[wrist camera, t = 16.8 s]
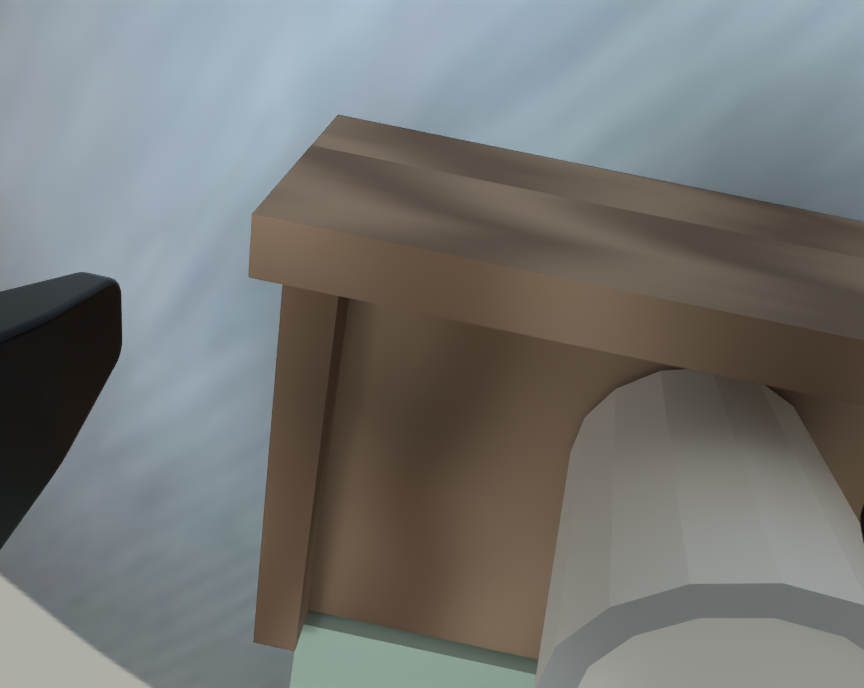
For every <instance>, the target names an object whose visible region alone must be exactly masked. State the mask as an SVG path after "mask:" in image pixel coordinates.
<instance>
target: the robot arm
mask: <svg viewBox="0 0 864 688" xmlns="http://www.w3.org/2000/svg"><path fill="white" fill-rule="evenodd" d="M121 347H122V310H121V290H120V286H119V284H118V283H117V281H116V280H115V279H112V278H109V277H105V276H100V275H95V274H91V273H86V272H79V273H74V274H70V275H66V276H62V277H58V278H54V279H50V280H46V281H42V282H38V283H34V284H30V285H26V286H22V287H18V288H14V289H9V290H5V291H1V292H0V550H1V548H2V547H3V545H4V544H5V543H6V541H7V540H8V538H9V537H10V536H11V534H12V533H13V531H14V530H15V529H16V527H17V526H18V524H19V523H20V522H21V520H22V519H23V517H24V516H25V515H26V513H27V512H28V510H29V509H30V508H31V506H32V505H33V503H34V502H35V501H36V499H37V498H38V496H39V495H40V493H41V492H42V491H43V489H44V488H45V486H46V485H47V484H48V482H49V481H50V479H51V478H52V476H53V475H54V474H55V472H56V471H57V469H58V468H59V466H60V465H61V463H62V462H63V460H64V458H65V456H66V455H67V453H68V451H69V450H70V448H71V446H72V444H73V442H74V441H75V439H76V437H77V435H78V433H79V431H80V430H81V428H82V426H83V424H84V422H85V420H86V418H87V417H88V415H89V413H90V411H91V409H92V407H93V406H94V404H95V402H96V400H97V398H98V396H99V394H100V393H101V391H102V389H103V387H104V385H105V383H106V382H107V380H108V378H109V376H110V374H111V372H112V370H113V369H114V367H115V365H116V363H117V361H118V358H119V356H120V352H121ZM860 527H861V533H862V538H863V544H864V504H863V507H862V510H861V515H860Z"/></svg>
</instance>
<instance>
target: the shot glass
mask: <svg viewBox="0 0 864 688" xmlns="http://www.w3.org/2000/svg"><path fill="white" fill-rule="evenodd" d="M534 688H864V544H863V538H862V533H861V527H860V522H859V521H858V519H857V517H856V515H855V514H854V512H853V510H852V508H851V507H850V505H849V503H848V501H847V500H846V498H845V496H844V494H843V492H842V491H841V489H840V487H839V485H838V484H837V482H836V480H835V478H834V477H833V475H832V473H831V471H830V470H829V468H828V466H827V464H826V463H825V461H824V459H823V457H822V455H821V454H820V452H819V450H818V448H817V447H816V445H815V443H814V441H813V440H812V438H811V436H810V434H809V433H808V431H807V429H806V427H805V426H804V424H803V422H802V420H801V419H800V417H799V415H798V413H797V411H796V410H795V408H794V406H792V405H791V404H790V403H788V402H787V401H786V400H784V399H783V398H782V397H780V396H779V395H777V394H776V393H775V392H773V391H772V390H771V389H769V388H768V387H767V386H765V385H763V384H758V383H753V382H748V381H744V380H739V379H734V378H729V377H724V376H720V375H715V374H710V373H705V372H700V371H696V370H691V369H681V370H665V371H659V372H656V373H654V374H651V375H649V376H646V377H644V378H641V379H639V380H636V381H634V382H631V383H629V384H626V385H624V386H621V387H619V388H616V389H615V390H614V391H613V392H612V393H611V394H609V395H608V396H607V397H606V398H605V399H604V400H603V401H602V402H601V403H600V404H599V405H597V406H596V407H595V408H594V409H593V410H592V411H591V412H590V413H589V414H588V415H587V416H586V417H585V418H584V420H583V422H582V425H581V427H580V430H579V432H578V435H577V437H576V440H575V442H574V444H573V447H572V449H571V452H570V459H569V465H568V472H567V478H566V485H565V491H564V497H563V504H562V510H561V517H560V523H559V530H558V536H557V543H556V549H555V556H554V562H553V569H552V575H551V582H550V588H549V595H548V601H547V608H546V614H545V620H544V627H543V633H542V640H541V646H540V653H539V659H538V666H537V672H536V679H535V685H534Z"/></svg>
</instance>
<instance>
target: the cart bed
mask: <svg viewBox="0 0 864 688" xmlns="http://www.w3.org/2000/svg"><path fill="white" fill-rule="evenodd" d="M249 277H250V278H254V279H259V280H264V281H269V282H274V283H278V284H283V287H282V299H281V311H280V324H279V336H278V348H277V360H276V372H275V385H274V397H273V409H272V421H271V433H270V446H269V458H268V470H267V482H266V494H265V506H264V519H263V531H262V543H261V555H260V567H259V580H258V592H257V604H256V616H255V628H254V641H253V642H255V643H259V644H264V645H268V646H273V647H278V648H282V649H287V650H291V651H295V650H296V647H297V643H298V640H299V637H300V634H301V631H302V628H303V625H304V622H305V619H306V616H307V613H308V610H311V611H316V612H321V613H325V614H330V615H335V616H339V617H344V618H348V619H353V620H358V621H362V622H367V623H371V624H376V625H381V626H385V627H390V628H394V629H399V630H404V631H408V632H413V633H418V634H422V635H427V636H431V637H436V638H441V639H445V640H450V641H454V642H459V643H464V644H468V645H473V646H477V647H482V648H487V649H491V650H496V651H501V652H505V653H510V654H514V655H519V656H524V657H528V658H533V659H537V660H538V659H539V653H540V646H541V640H542V633H543V627H544V620H545V614H546V608H547V601H548V595H549V588H550V582H551V575H552V569H553V562H554V556H555V549H556V543H557V536H558V530H559V523H560V517H561V510H562V504H563V497H564V491H565V485H566V478H567V472H568V465H569V459H570V452H571V449H572V447H573V444H574V442H575V440H576V437H577V435H578V432H579V430H580V427H581V425H582V422H583V420H584V418H585V417H586V416H587V415H588V414H589V413H590V412H591V411H592V410H593V409H594V408H595V407H596V406H597V405H599V404H600V403H601V402H602V401H603V400H604V399H605V398H606V397H607V396H608V395H609V394H611V393H612V392H613V391H614V390H615V389H616V388H619V387H621V386H624V385H626V384H629V383H631V382H634V381H636V380H639V379H641V378H644V377H646V376H649V375H651V374H654V373H656V372H659V371H665V370H681V369H691V370H696V371H700V372H705V373H710V374H715V375H720V376H724V377H729V378H734V379H739V380H744V381H748V382H753V383H758V384H763V385H765V386H767V387H768V388H769V389H771V390H772V391H773V392H775V393H776V394H777V395H779V396H780V397H782V398H783V399H784V400H786V401H787V402H788V403H790V404H791V405H792V406H794V408H795V410H796V411H797V413H798V415H799V417H800V419H801V420H802V422H803V424H804V426H805V427H806V429H807V431H808V433H809V434H810V436H811V438H812V440H813V441H814V443H815V445H816V447H817V448H818V450H819V452H820V454H821V455H822V457H823V459H824V461H825V463H826V464H827V466H828V468H829V470H830V471H831V473H832V475H833V477H834V478H835V480H836V482H837V484H838V485H839V487H840V489H841V491H842V492H843V494H844V496H845V498H846V500H847V501H848V503H849V505H850V507H851V508H852V510H853V512H854V514H855V515H856V517H857V519H858V521H859V522H860V515H861V510H862V507H863V504H864V222H861V221H857V220H852V219H847V218H842V217H837V216H832V215H827V214H822V213H817V212H812V211H807V210H803V209H798V208H793V207H788V206H783V205H778V204H773V203H768V202H763V201H758V200H754V199H749V198H744V197H739V196H734V195H729V194H724V193H719V192H714V191H709V190H704V189H700V188H695V187H690V186H685V185H680V184H675V183H670V182H665V181H660V180H655V179H650V178H646V177H641V176H636V175H631V174H626V173H621V172H616V171H611V170H606V169H601V168H596V167H592V166H587V165H582V164H577V163H572V162H567V161H562V160H557V159H552V158H547V157H543V156H538V155H533V154H528V153H523V152H518V151H513V150H508V149H503V148H498V147H493V146H489V145H484V144H479V143H474V142H469V141H464V140H459V139H454V138H449V137H444V136H439V135H435V134H430V133H425V132H420V131H415V130H410V129H405V128H400V127H395V126H390V125H385V124H381V123H376V122H371V121H366V120H361V119H356V118H351V117H346V116H341V115H337V117H336V118H335V119H334V120H333V121H332V122H331V123H330V125H329V126H328V127H327V128H326V129H325V130H324V131H323V133H322V134H321V135H320V136H319V137H318V138H317V140H316V141H315V142H314V143H313V144H312V145H311V146H310V148H309V149H308V150H307V151H306V152H305V153H304V155H303V156H302V157H301V158H300V159H299V160H298V161H297V163H296V164H295V165H294V166H293V167H292V168H291V170H290V171H289V172H288V173H287V174H286V175H285V176H284V178H283V179H282V180H281V181H280V182H279V183H278V185H277V186H276V187H275V188H274V189H273V190H272V191H271V193H270V194H269V195H268V196H267V197H266V198H265V199H264V201H263V202H262V203H261V204H260V205H259V206H258V208H257V209H256V210H255V211H254V212H253V213H252V224H251V242H250V259H249Z"/></svg>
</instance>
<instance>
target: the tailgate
mask: <svg viewBox="0 0 864 688" xmlns="http://www.w3.org/2000/svg"><path fill="white" fill-rule="evenodd" d="M537 666H538V660H537V659H533V658H528V657H524V656H519V655H514V654H510V653H505V652H501V651H496V650H491V649H487V648H482V647H477V646H473V645H468V644H464V643H459V642H454V641H450V640H445V639H441V638H436V637H431V636H427V635H422V634H418V633H413V632H408V631H404V630H399V629H394V628H390V627H385V626H381V625H376V624H371V623H367V622H362V621H358V620H353V619H348V618H344V617H339V616H335V615H330V614H325V613H321V612H316V611H311V610H308V613H307V616H306V619H305V622H304V625H303V628H302V631H301V634H300V637H299V640H298V643H297V647H296V650H295V651H294V657H293V664H292V671H291V678H290V685H289V688H534V685H535V679H536V672H537Z"/></svg>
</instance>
